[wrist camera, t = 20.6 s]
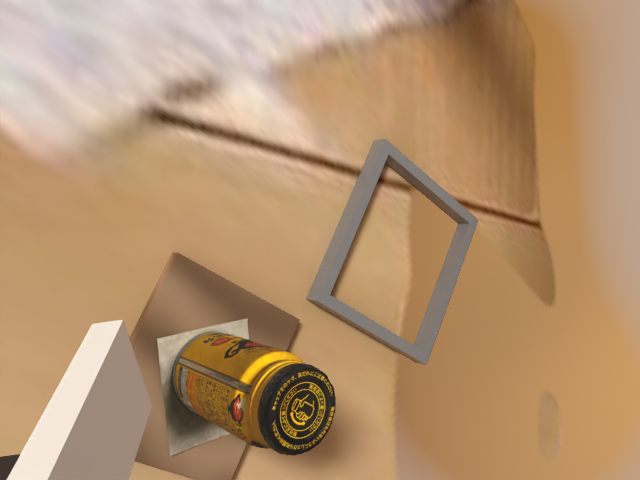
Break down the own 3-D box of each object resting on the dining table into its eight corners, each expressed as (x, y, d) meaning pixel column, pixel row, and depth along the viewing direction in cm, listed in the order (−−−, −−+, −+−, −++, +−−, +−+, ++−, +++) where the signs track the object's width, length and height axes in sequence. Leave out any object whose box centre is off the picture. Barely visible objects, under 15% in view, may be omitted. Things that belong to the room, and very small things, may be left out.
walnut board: (172, 252, 43) (178, 253, 42) (292, 318, 50) (299, 319, 49) (77, 440, 39) (82, 444, 39) (220, 484, 46) (227, 489, 45)
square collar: (374, 140, 55) (385, 138, 54) (466, 219, 63) (478, 219, 62) (306, 298, 50) (316, 300, 49) (415, 362, 59) (426, 364, 57)
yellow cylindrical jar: (246, 317, 46) (345, 342, 36) (256, 424, 47) (355, 475, 37) (155, 338, 41) (240, 371, 32) (168, 454, 42) (254, 522, 33)
